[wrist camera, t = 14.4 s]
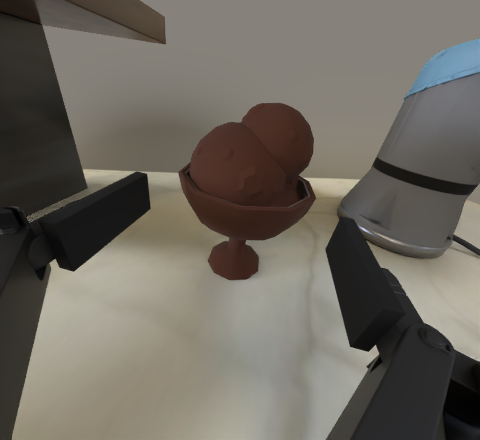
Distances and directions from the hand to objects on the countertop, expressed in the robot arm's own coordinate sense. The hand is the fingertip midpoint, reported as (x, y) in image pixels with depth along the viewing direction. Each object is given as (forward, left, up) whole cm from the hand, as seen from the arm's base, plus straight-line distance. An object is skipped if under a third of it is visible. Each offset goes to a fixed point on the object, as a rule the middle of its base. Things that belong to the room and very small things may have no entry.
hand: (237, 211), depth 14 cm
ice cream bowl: (0, -4, -9) cm, 10 cm away
